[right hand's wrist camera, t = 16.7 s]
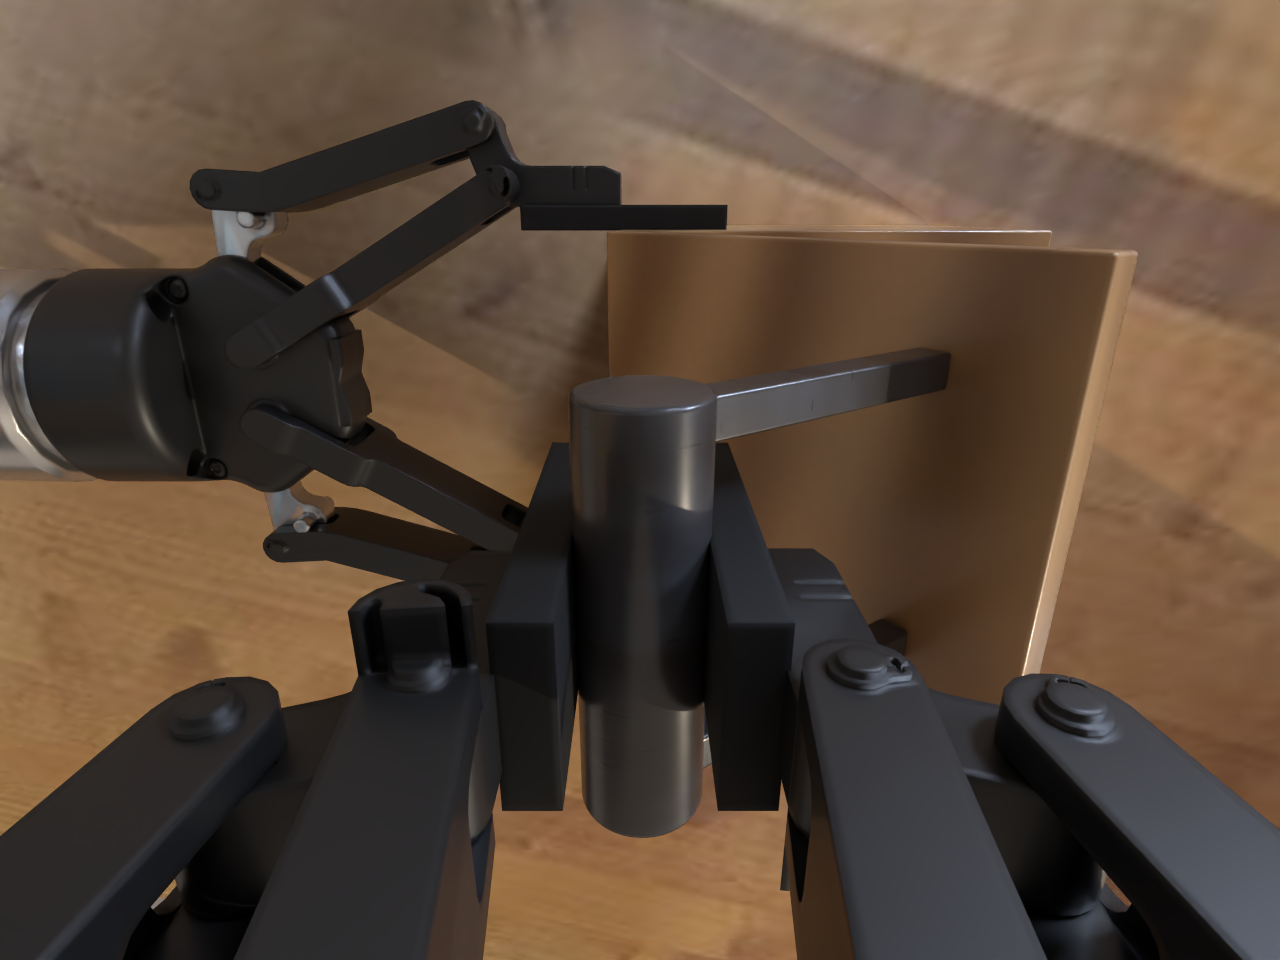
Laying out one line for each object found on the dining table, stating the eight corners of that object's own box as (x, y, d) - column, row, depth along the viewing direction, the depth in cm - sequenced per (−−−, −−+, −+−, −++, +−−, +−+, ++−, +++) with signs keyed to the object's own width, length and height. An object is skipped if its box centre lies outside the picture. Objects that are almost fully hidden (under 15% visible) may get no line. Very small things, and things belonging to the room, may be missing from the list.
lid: (1141, 249, 11) (726, 277, 6) (1016, 777, 14) (695, 1036, 10) (628, 230, 21) (336, 236, 17) (629, 537, 25) (389, 609, 20)
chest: (935, 225, 30) (1053, 230, 21) (904, 452, 34) (993, 535, 25) (625, 225, 30) (617, 230, 22) (627, 451, 34) (620, 534, 25)
